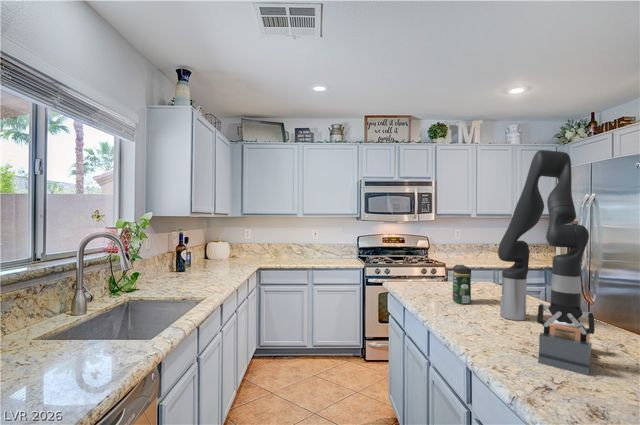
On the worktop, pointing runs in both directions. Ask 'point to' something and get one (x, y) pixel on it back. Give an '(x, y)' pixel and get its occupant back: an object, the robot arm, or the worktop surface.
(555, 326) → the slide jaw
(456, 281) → the coffee jar
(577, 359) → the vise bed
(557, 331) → the walnut block
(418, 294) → the worktop surface
